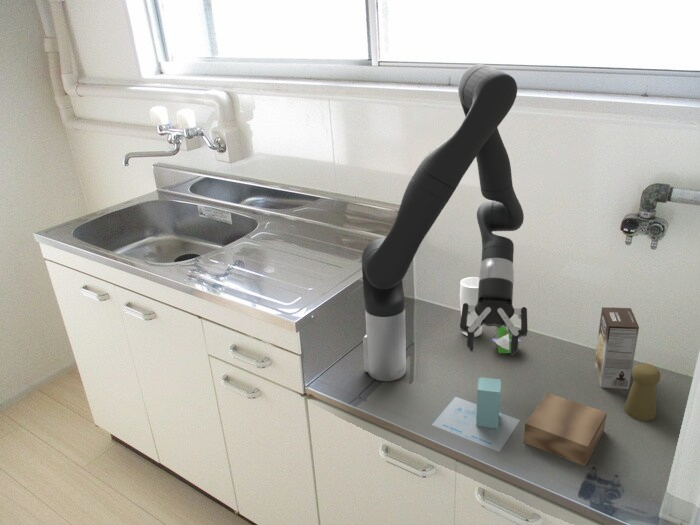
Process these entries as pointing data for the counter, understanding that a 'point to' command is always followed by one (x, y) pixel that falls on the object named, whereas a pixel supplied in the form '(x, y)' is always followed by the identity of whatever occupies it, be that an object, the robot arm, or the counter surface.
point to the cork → (643, 393)
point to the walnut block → (565, 428)
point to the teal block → (488, 402)
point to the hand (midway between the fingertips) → (491, 352)
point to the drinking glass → (470, 299)
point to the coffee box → (616, 347)
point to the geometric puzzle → (503, 340)
